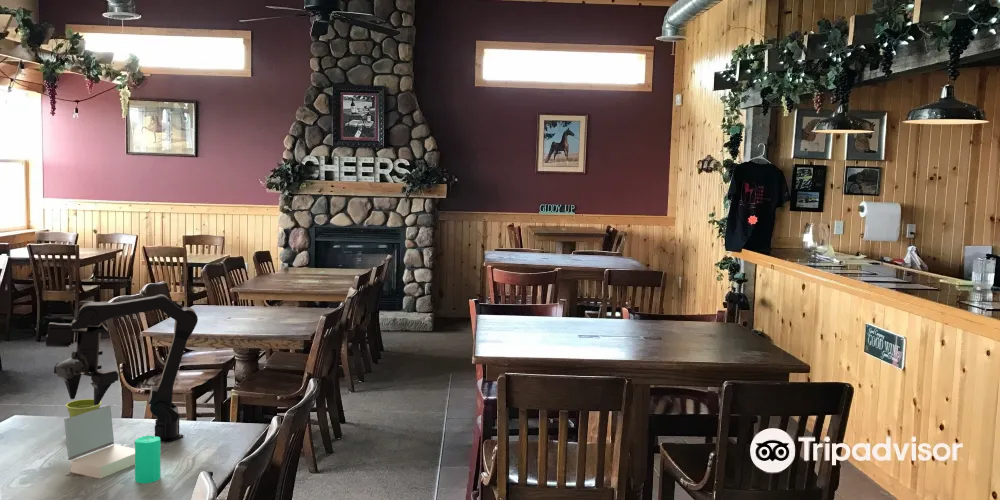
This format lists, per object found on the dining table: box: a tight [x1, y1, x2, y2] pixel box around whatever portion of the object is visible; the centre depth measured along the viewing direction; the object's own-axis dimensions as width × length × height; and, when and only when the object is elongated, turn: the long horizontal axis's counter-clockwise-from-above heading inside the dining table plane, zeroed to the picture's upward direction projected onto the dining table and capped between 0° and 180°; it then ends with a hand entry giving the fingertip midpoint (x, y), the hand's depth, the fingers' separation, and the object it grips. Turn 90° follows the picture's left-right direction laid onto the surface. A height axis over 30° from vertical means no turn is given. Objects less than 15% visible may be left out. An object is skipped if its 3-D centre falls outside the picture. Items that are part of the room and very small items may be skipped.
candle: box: [134, 434, 162, 484], centre depth 197 cm, size 6×6×12 cm
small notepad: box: [70, 444, 135, 479], centre depth 205 cm, size 14×10×3 cm
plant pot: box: [65, 398, 102, 418], centre depth 231 cm, size 9×9×9 cm
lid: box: [63, 405, 115, 461], centre depth 206 cm, size 14×11×1 cm
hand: (84, 402), depth 218 cm, fingers open, 9 cm apart
